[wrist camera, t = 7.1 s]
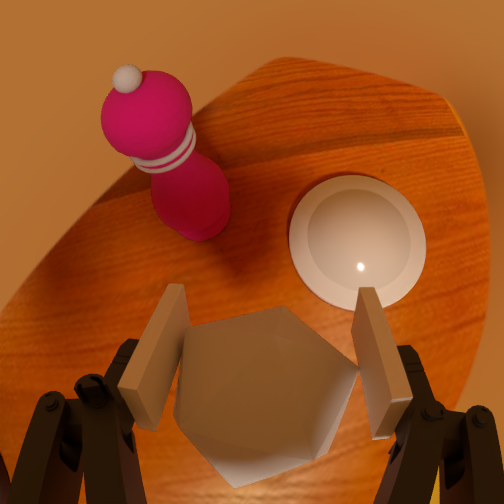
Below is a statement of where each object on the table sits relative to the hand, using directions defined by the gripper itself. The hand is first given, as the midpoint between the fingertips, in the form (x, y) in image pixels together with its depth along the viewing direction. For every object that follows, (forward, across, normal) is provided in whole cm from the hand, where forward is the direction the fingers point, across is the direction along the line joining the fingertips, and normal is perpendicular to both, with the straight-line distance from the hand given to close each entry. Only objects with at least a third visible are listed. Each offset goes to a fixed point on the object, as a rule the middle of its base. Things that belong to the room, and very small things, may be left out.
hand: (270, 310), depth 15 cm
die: (0, 0, -6) cm, 6 cm away
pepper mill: (+19, -8, -2) cm, 20 cm away
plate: (+16, +8, -4) cm, 19 cm away
